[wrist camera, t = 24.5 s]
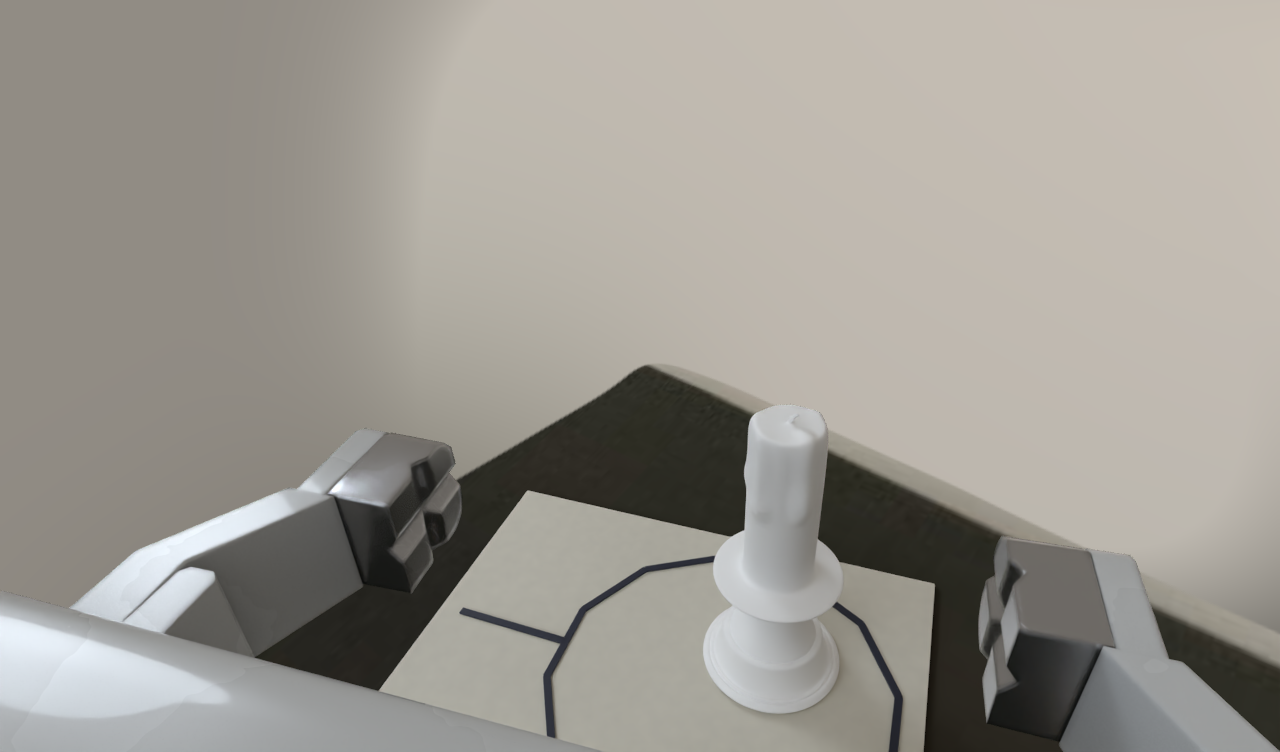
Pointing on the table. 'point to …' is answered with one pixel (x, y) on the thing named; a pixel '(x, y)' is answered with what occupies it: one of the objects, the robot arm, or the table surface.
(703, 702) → the sketch sheet
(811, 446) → the candle
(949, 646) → the table surface
